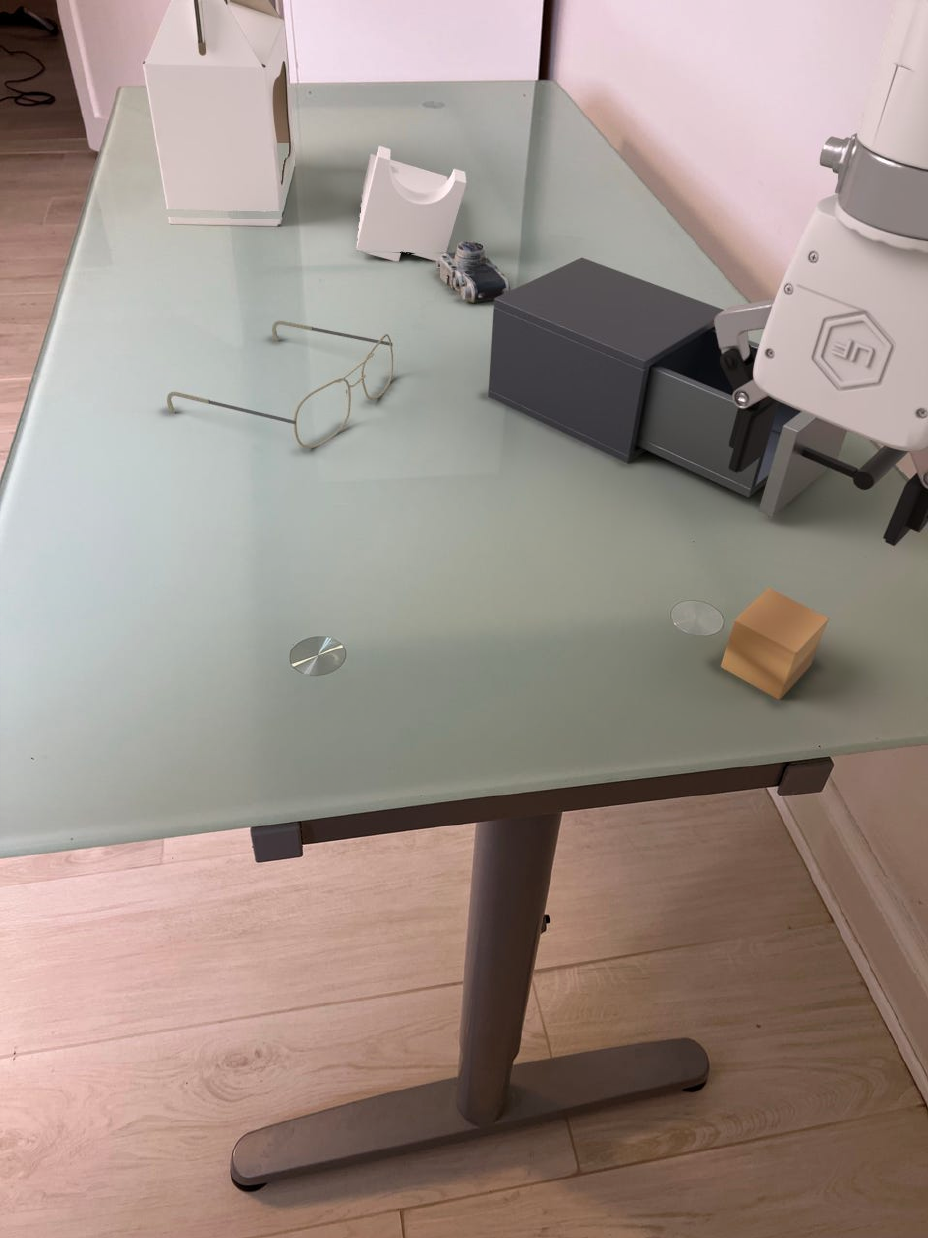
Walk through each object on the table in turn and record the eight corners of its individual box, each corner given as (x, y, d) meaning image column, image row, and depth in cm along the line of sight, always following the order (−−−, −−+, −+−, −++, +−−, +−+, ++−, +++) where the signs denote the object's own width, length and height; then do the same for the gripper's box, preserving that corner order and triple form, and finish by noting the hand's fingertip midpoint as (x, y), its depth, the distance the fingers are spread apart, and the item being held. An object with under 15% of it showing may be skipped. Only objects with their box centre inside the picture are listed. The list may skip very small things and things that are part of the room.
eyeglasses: (311, 460, 82) (307, 407, 79) (168, 413, 87) (158, 361, 84) (405, 377, 93) (405, 328, 90) (273, 339, 98) (268, 291, 94)
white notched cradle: (439, 273, 114) (466, 183, 107) (356, 250, 111) (378, 156, 105) (436, 214, 127) (460, 130, 120) (361, 192, 125) (381, 106, 118)
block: (810, 666, 66) (829, 618, 63) (779, 701, 64) (796, 652, 61) (752, 635, 68) (768, 586, 65) (720, 667, 66) (734, 619, 63)
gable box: (280, 228, 119) (254, -51, 100) (168, 226, 118) (121, -55, 99) (296, 165, 135) (276, -84, 116) (198, 163, 134) (162, -88, 115)
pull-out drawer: (902, 487, 81) (936, 403, 76) (840, 550, 74) (872, 463, 69) (690, 397, 90) (708, 317, 85) (619, 446, 84) (633, 362, 79)
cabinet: (705, 409, 91) (728, 310, 84) (627, 464, 84) (645, 360, 77) (570, 351, 98) (581, 256, 92) (487, 397, 91) (493, 297, 84)
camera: (467, 309, 104) (468, 270, 101) (432, 270, 111) (432, 233, 108) (510, 302, 106) (513, 263, 103) (473, 264, 113) (475, 227, 110)
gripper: (721, 160, 47) (657, 462, 59) (1100, 273, 39) (939, 597, 51) (795, 128, 51) (722, 415, 63) (1151, 224, 43) (992, 533, 55)
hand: (819, 496), depth 57 cm, fingers open, 9 cm apart
